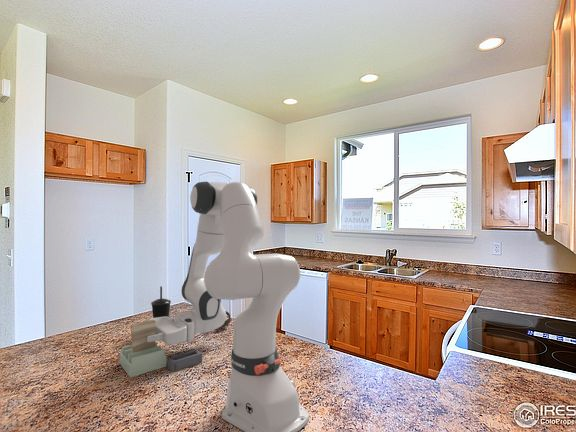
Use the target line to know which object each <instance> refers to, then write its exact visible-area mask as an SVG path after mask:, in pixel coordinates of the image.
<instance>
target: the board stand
mask: <svg viewBox="0 0 576 432" xmlns="http://www.w3.org/2000/svg"><path fill="white" fill-rule="evenodd" d="M201 363H203V352H201V351H200V350H198V349H197V348H196V349H192V350H190V351H186V352H182V353H178V354H176V355H172V356H169V357H167V368H168V369H169V370H170V371H171V372H172V373H173V372H177V371H180V370H183V369H186V368H188V367H192V366H196V365H198V364H201Z"/></svg>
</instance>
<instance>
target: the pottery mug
mask: <svg viewBox="0 0 576 432" xmlns="http://www.w3.org/2000/svg"><path fill="white" fill-rule="evenodd" d="M225 312H226V317H228V318H227V319H225V322H224V324H223V325H222V326H221V327H219V328H217V329H215V331H220V330H221V329H224V328H226V327H228V326H229V325H230V324H231V322H232V317H231V314H230V312H229V311H227V310H225Z"/></svg>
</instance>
